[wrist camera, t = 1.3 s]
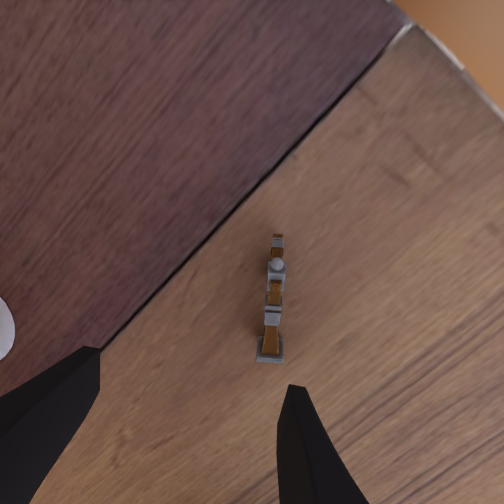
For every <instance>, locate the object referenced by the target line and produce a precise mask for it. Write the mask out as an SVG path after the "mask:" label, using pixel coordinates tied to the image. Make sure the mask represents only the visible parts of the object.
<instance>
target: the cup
mask: <svg viewBox="0 0 504 504" xmlns="http://www.w3.org/2000/svg"><path fill="white" fill-rule="evenodd" d="M14 338H15V324H14V321H13V317H12V314H11V312H10V310H9V308H8V307H7V305H6V303H5V302H4V301H3V300H2V299H1V297H0V360H1V359H2V358H3V357H4V356H6V355H7V353H8V352H9V351H10V349H11V348H12V345H13V342H14Z"/></svg>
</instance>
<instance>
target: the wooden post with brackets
mask: <svg viewBox="0 0 504 504" xmlns="http://www.w3.org/2000/svg"><path fill="white" fill-rule="evenodd" d="M283 249H284V241H283V235H279V234H273V240H272V246H271V255H272V260H271V261H268V270H267V273H268V277H267V291H268V294H266V297H265V308H264V309H265V311H264V313H265V316H264V325H266V326H265V331H264V336H259V338H258V343H257V354H256V361H259V362H270V363H281V364H284V338H279V336H278V326H280V315H281V311H282V295H281V292H284V281H285V276H286V263H285V262H283V260H282V256H283Z"/></svg>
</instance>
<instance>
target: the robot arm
mask: <svg viewBox="0 0 504 504" xmlns="http://www.w3.org/2000/svg"><path fill="white" fill-rule="evenodd" d="M99 391H100V349H98V348H93V347H88V346H83V347H81V348H80V349H78V350H77V351H75V352H73V353H72V354H70V355H69V356H67V357H66V358H64V359H62V360H61V361H59V362H58V363H56V364H55V365H53V366H52V367H50V368H48V369H47V370H45V371H44V372H42V373H40V374H39V375H37V376H36V377H34V378H32V379H31V380H29V381H27V382H26V383H24V384H23V385H21V386H19V387H17V388H16V389H14V390H12V391H10V392H9V393H7V394H5V395H3V396H2V397H0V504H29V503H30V501H31V499H32V498H33V496H34V494H35V493H36V491H37V489H38V488H39V486H40V485H41V483H42V482H43V480H44V479H45V477H46V476H47V474H48V473H49V471H50V470H51V468H52V467H53V465H54V464H55V462H56V461H57V459H58V458H59V456H60V455H61V453H62V452H63V451H64V449H65V448H66V446H67V445H68V443H69V442H70V440H71V439H72V437H73V436H74V434H75V433H76V431H77V430H78V428H79V427H80V425H81V424H82V422H83V421H84V419H85V418H86V416H87V414H88V412H89V410H90V409H91V407H92V405H93V403H94V401H95V399H96V397H97V395H98V393H99ZM276 453H277V470H278V485H279V500H280V504H369V503H368V501H367V500H366V498H365V497H364V495H363V494H362V492H361V491H360V489H359V488H358V486H357V485H356V483H355V482H354V480H353V478H352V477H351V475H350V474H349V472H348V470H347V469H346V467H345V465H344V464H343V462H342V460H341V458H340V457H339V455H338V453H337V451H336V450H335V448H334V446H333V444H332V442H331V440H330V438H329V436H328V434H327V433H326V431H325V429H324V427H323V425H322V423H321V421H320V418H319V416H318V414H317V412H316V410H315V408H314V406H313V403H312V401H311V399H310V396H309V394H308V392H307V390H306V388H305V387H301V386H296V385H291V384H289V386H288V389H287V393H286V396H285V399H284V403H283V406H282V410H281V413H280V417H279V420H278V424H277V451H276Z"/></svg>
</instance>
